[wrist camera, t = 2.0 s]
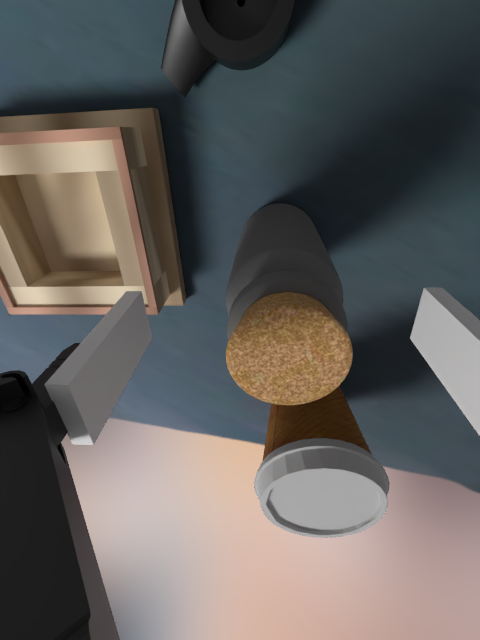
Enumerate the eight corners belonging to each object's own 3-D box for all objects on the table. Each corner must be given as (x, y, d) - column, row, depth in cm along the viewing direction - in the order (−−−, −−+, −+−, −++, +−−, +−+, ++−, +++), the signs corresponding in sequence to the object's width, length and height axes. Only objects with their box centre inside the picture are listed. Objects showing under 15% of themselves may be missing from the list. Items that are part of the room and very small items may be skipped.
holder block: (158, 108, 21) (132, 103, 17) (186, 298, 28) (173, 325, 24) (-37, 120, 22) (-102, 118, 18) (38, 299, 29) (3, 324, 25)
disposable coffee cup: (268, 340, 29) (267, 452, 19) (367, 357, 29) (420, 477, 19) (251, 410, 34) (244, 529, 24) (337, 424, 34) (365, 549, 24)
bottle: (231, 215, 24) (186, 313, 11) (308, 191, 22) (360, 271, 10) (252, 283, 27) (237, 425, 14) (322, 265, 25) (377, 404, 12)
